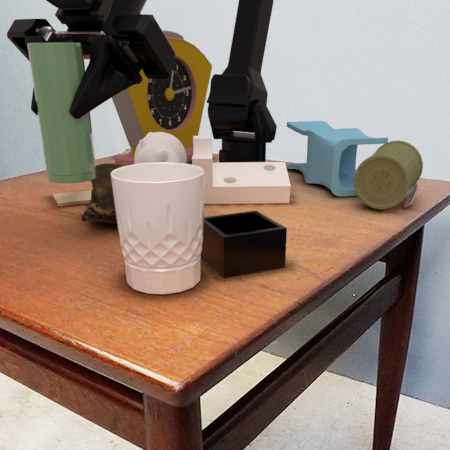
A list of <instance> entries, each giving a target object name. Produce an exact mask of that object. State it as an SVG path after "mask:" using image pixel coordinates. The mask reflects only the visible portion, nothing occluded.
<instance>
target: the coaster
mask: <svg viewBox="0 0 450 450" xmlns="http://www.w3.org/2000/svg"><path fill="white" fill-rule="evenodd" d="M91 191H92V189H89V190H78V191H68V192H57V193H52V198H53V199H54V201H55V203H56V206H57V207H59V208H61V207H68V206H78V205H79V206H80V205H86V204H88V203H89V202H90V201H91Z"/></svg>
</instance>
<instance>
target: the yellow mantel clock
mask: <svg viewBox="0 0 450 450" xmlns="http://www.w3.org/2000/svg"><path fill="white" fill-rule="evenodd" d="M162 31H163V33H164V35H165V36H166V38H167V40H168V41H169V43H170V45H171V46H172V48H173V50H174V52H175V57H176V63H175V65H174V67H173V69H172V71H171V73H170V76H169V78H168V79H147V77H146V76H145V74H144V72H143V70H142V69H141V71H140V75H141V76H142V78H143V80H142V82H141V83H140V84H134V85H132V86H131V87H129V88H127V89H125V90H124V91H122V92H120V93H118V94H117V95H115V96H113V97H112V98H111V100H112V102H113V105H114V107H115V111H116V113H117V116H118V118H119V121H120V124H121V126H122V129H123V132H124V135H125V137H126V140H127V143H128V146H129V147H130V149H131V152H130V153H126V154H121V153H120V154H121V155H118V154H116V156H114V164H117V165H122V166H127V165H133V164H134V161H135V151H136V148H137V145H138V144H139V141H140V140H141V139H143V138H144V137H145V136H146V135H147V134H148V133H149V132H153V133H155V132H165V133H169V134H171V135H173V136H175V137H176V138H177V139H178V140H179V141H180V142H181V143H182V145H183V146H184V148H185V151H186V154H187V164H190V163H192V156H193V136H199V134H200V133H199V132H200V128H201V123H202V118H203V113H204V108H205V103H206V100H207V94H208V89H209V84H210V81H211V75H212V70H213V65H212V63H211V62H210V61H209V59H208V58H207V56H206V55H205V54H204V53H203V52H202V51H201V50H200V49H199V48H198V47H197V46H196V45H195V44H194V43H191V42H189V41H188V40H186V39H185V38H184V36H183V35H181V34H180V33H179V32H176V31H172V30H162Z"/></svg>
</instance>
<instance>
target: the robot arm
mask: <svg viewBox="0 0 450 450" xmlns="http://www.w3.org/2000/svg"><path fill="white" fill-rule="evenodd" d="M45 1H46V2H47V3H49V4H51V5H52V6H54V7H55V8H57V9H56V12H55V14H54V16H55V17H56V19H57V20H58V21H59V22H60V24H62V25H65V26H66V30H61V31H60V30H58V31H57V30H56V29H55V28H54V27H53V26H52V25H51V23H50V22H49V20H47V18H20V19H18V18H17V19H13V21H12V24H11V25H10V27H9V28H8V30H7V32H6V37H7V39H8V40H9V42H11V43H12V44H13V45H14V46H15V47H16V49H18V51H19V52H20V53H21V54H22V55H23V56H24V57H25V58H26V60H27V61H28V62H30V59H29V52H28V45H27V43H66V42H82V47H83V55H84V60H89V62H88V64H87V65H86V66H87V67H86V68H85V73H84V76H83V78H82V80H81V82H80V85H79V87H78V89H77V91H76V94H75V96H74V98H73V101H72V104H71V107H70V110H69V113H70V114H71V115H72V116H73V117H74V118H75V119H79V118H81V117H82V116H84V115H85V114H87V113H88V112H90V113H91V111H93V110H95V109H96V108H98V107H99V106H101V105H102V104H103V103H106V101H108V100H110V99H112V97H113V96H115V95H117V94H118V93H120V92H122V91H124V90H125V89H127V88H129V87H131V86H132V85H134V84H140V83H141V82H142V80H143V78H142V76H141V75H140V71H141V69H142V70H143V72H144V74H145V76H146V77H147V79H168V78H169V76H170V73H171V71H172V69H173V67H174V65H175V63H176V57H175V52H174V50H173V48H172V46H171V45H170V43H169V41H168V40H167V38H166V36H165V35H164V33H163V31H164V30H163V29H162V28H161V26H160V25H159V23H158V20H156V17H154V16H155V15H154V14H146V13H145V14H144V13H143V14H141V13H142V11H143V9H144V8H145V6H146V3H147V1H148V0H45ZM274 2H275V1H274V0H238V3H237V10H236V15H235V21H234V28H233V33H232V39H231V45H230V51H229V57H228V62H227V66H226V67H225V68H224V70H223V71H222V73H221V74H220V73H214V74H213V75H212V77H211V78H210V89H209V92H208V93H209V94H208V97H207V98H206V104H208V105H207V117H208V121H209V125H210V130H211V134H212V139H213V140H221V149H219V150H218V163H226V162H267V161H266V158H267V144H270V143H272V142H273V141H274V140H275V138H276V133H277V129H278V126H277V124H276V122H275V120H274V118H273V116H272V114H271V112H270V110H269V108H268V105H267V104H268V96H269V95H268V90H267V88H266V84H265V81H264V79H263V76H262V68H263V63H264V62H263V61H264V57H265V51H266V45H267V41H268V40H267V39H268V35H269V29H270V23H271V17H272V12H273V7H274ZM30 103H31V104H30V110H31V112H32V113H34V114H35V116H37V117H38V111H37V105H36V98H35V92H34V86H33V88H32V96H31V101H30Z"/></svg>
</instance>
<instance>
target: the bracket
mask: <svg viewBox="0 0 450 450" xmlns="http://www.w3.org/2000/svg"><path fill="white" fill-rule="evenodd" d="M286 164H287V163H286V161H266V162H226V163H219V162H213V135H198V136H193V156H192V162H191V165H196V166H199V167H201V168H203V169H204V171H205V179H204V205H235V204H236V205H237V204H239V205H241V204H245V205H246V204H247V205H250V204H290V199H291V189H292V188H291V187H292V185H291V182H290V178H289V177H290V176H289V172H288V169H287V168H286Z"/></svg>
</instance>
